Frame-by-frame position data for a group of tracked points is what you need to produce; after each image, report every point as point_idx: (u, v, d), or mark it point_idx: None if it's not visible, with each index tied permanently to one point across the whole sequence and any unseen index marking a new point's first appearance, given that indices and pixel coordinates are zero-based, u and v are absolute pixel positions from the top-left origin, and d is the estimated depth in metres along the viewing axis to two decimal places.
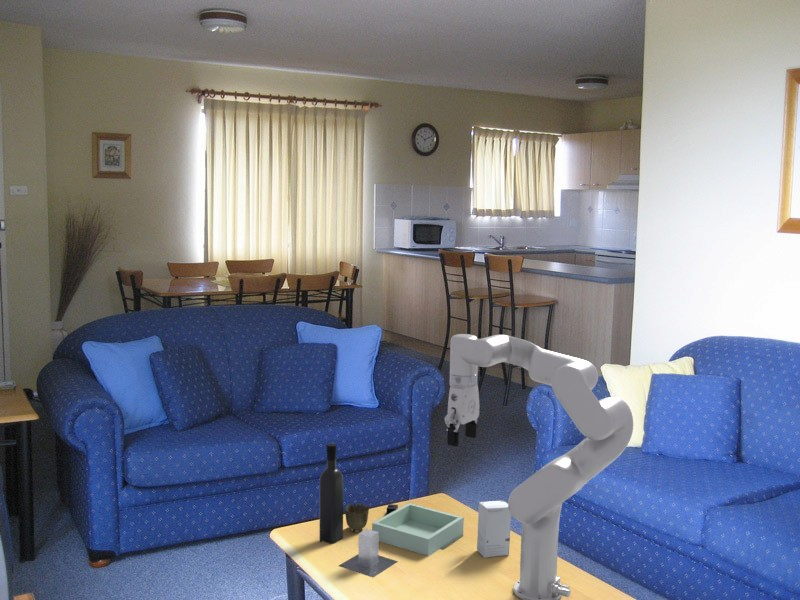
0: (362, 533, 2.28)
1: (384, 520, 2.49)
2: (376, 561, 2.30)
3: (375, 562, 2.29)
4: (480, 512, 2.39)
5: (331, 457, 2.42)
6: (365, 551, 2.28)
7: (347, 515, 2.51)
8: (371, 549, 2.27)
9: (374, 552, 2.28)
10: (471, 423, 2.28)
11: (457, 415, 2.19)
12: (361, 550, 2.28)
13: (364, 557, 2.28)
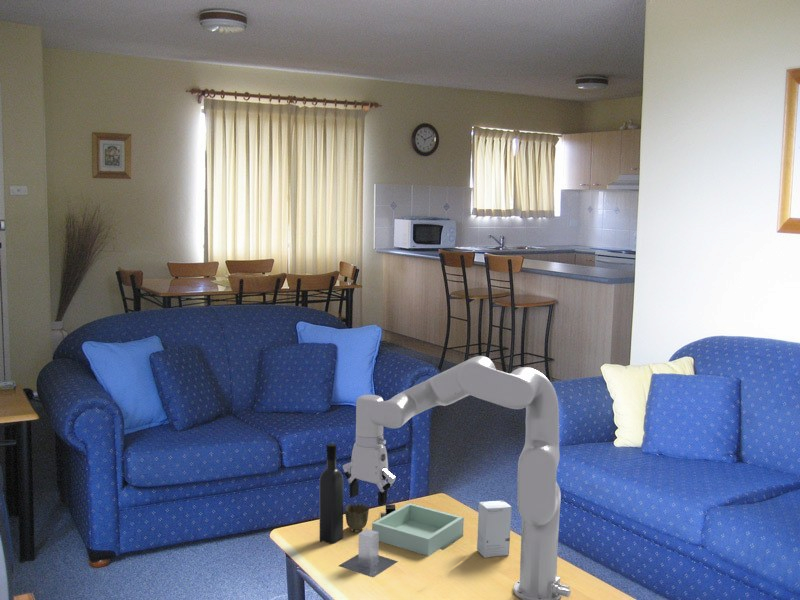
0: (362, 533, 2.28)
1: (384, 520, 2.49)
2: (376, 561, 2.30)
3: (375, 562, 2.29)
4: (480, 512, 2.39)
5: (331, 457, 2.42)
6: (365, 551, 2.28)
7: (347, 515, 2.51)
8: (371, 549, 2.27)
9: (374, 552, 2.28)
10: (355, 482, 2.30)
11: None
12: (361, 550, 2.28)
13: (364, 557, 2.28)
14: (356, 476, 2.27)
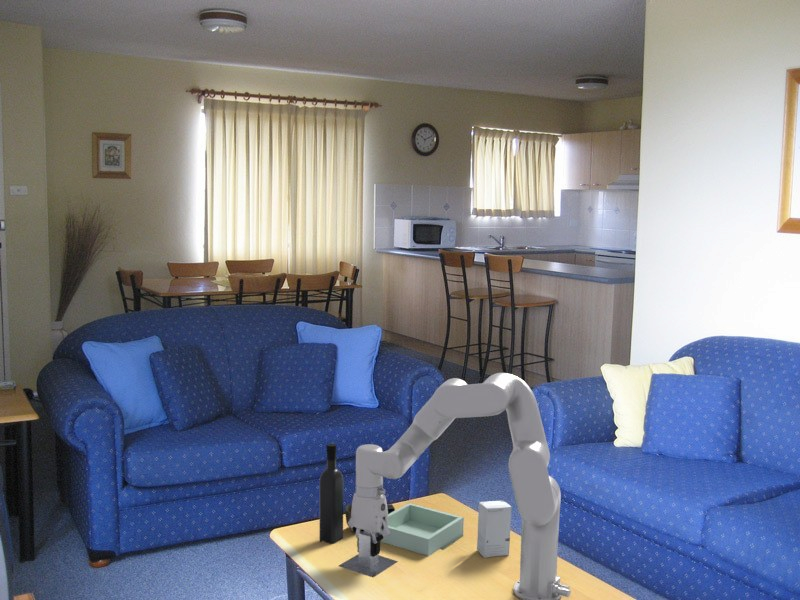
0: (362, 533, 2.28)
1: None
2: (376, 561, 2.30)
3: (375, 562, 2.29)
4: (480, 512, 2.39)
5: (331, 457, 2.42)
6: (365, 551, 2.28)
7: (347, 515, 2.51)
8: None
9: None
10: None
11: (386, 522, 2.27)
12: (361, 550, 2.28)
13: (364, 557, 2.28)
14: (356, 525, 2.28)
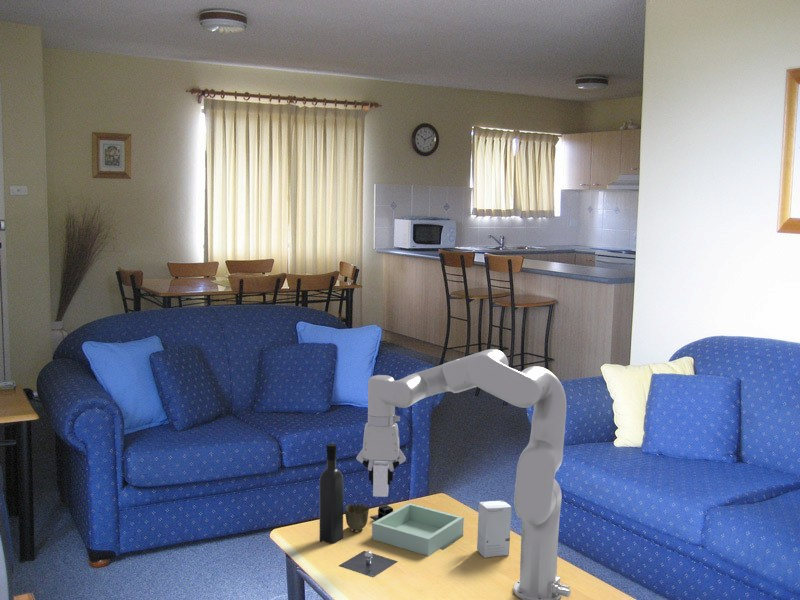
0: (376, 464, 2.29)
1: (384, 520, 2.49)
2: None
3: None
4: (480, 512, 2.39)
5: (331, 457, 2.42)
6: (381, 481, 2.29)
7: (347, 515, 2.51)
8: (387, 477, 2.29)
9: None
10: None
11: (399, 448, 2.31)
12: (376, 481, 2.29)
13: (380, 487, 2.29)
14: (370, 457, 2.28)
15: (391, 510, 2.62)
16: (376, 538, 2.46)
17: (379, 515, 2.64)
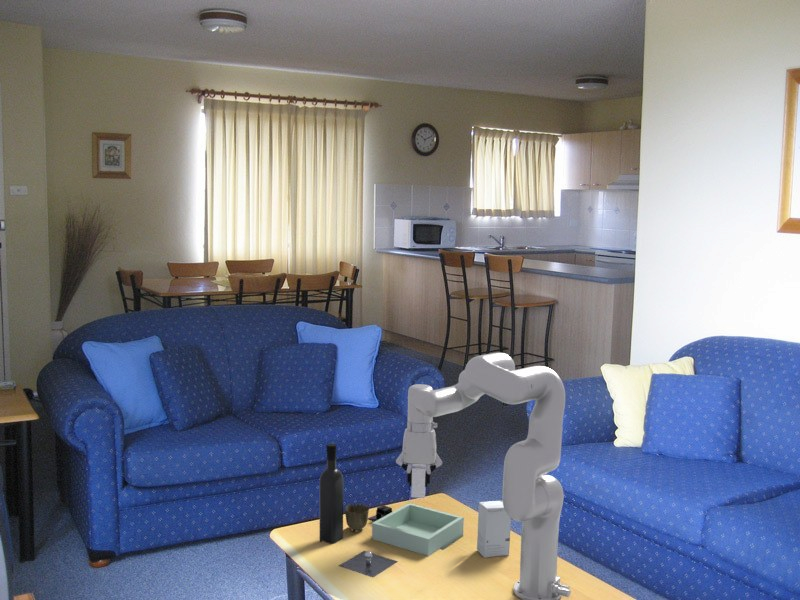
0: (414, 467, 2.45)
1: (384, 520, 2.49)
2: None
3: None
4: (480, 512, 2.39)
5: (331, 457, 2.42)
6: (419, 483, 2.45)
7: (347, 515, 2.51)
8: None
9: None
10: None
11: (436, 453, 2.47)
12: (415, 483, 2.45)
13: (418, 489, 2.45)
14: (409, 461, 2.44)
15: (390, 510, 2.62)
16: (376, 538, 2.46)
17: (377, 516, 2.63)
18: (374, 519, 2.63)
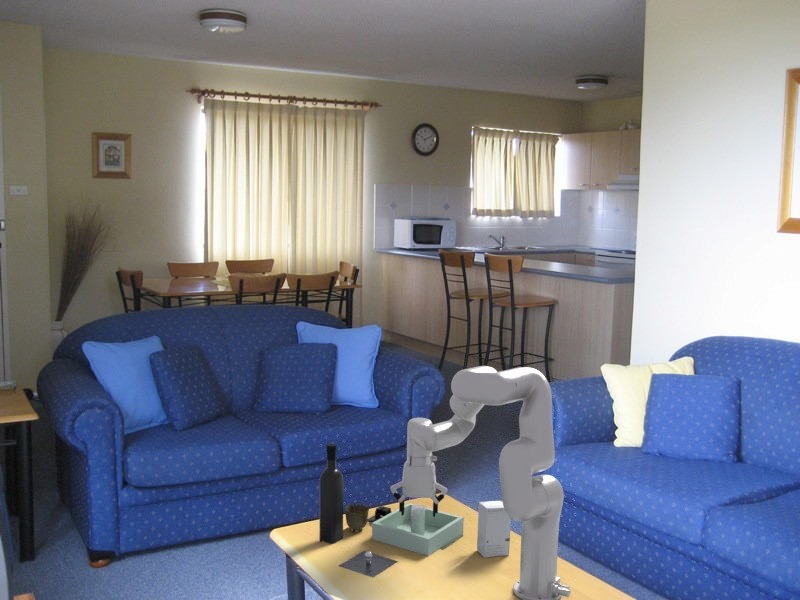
0: (414, 508, 2.47)
1: (384, 520, 2.49)
2: (424, 532, 2.50)
3: (424, 533, 2.49)
4: (480, 512, 2.39)
5: (331, 457, 2.42)
6: (418, 524, 2.47)
7: (347, 515, 2.51)
8: (424, 521, 2.47)
9: (424, 524, 2.49)
10: (403, 500, 2.48)
11: None
12: (414, 524, 2.47)
13: (417, 530, 2.47)
14: (409, 494, 2.46)
15: (389, 510, 2.62)
16: (376, 538, 2.46)
17: (376, 517, 2.62)
18: (373, 520, 2.62)
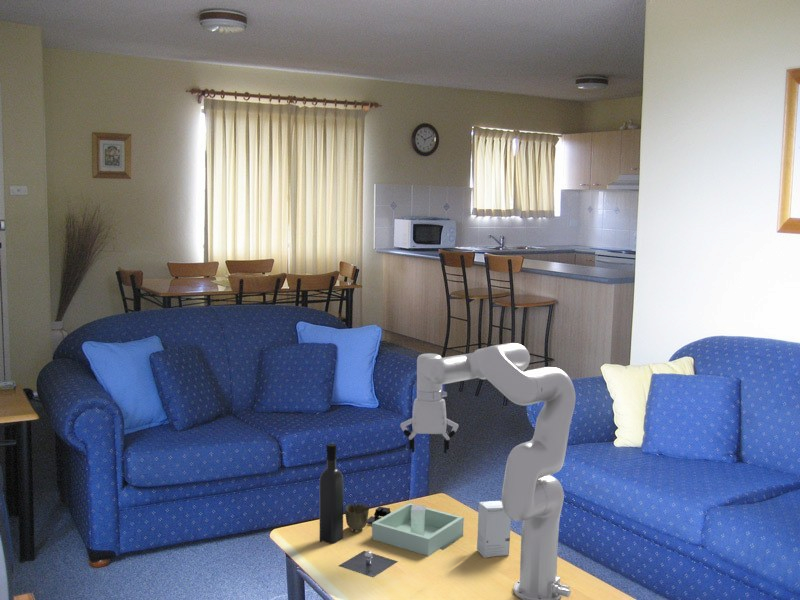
0: (414, 508, 2.47)
1: (384, 520, 2.49)
2: (424, 532, 2.50)
3: (424, 533, 2.49)
4: (480, 512, 2.39)
5: (331, 457, 2.42)
6: (418, 524, 2.47)
7: (347, 515, 2.51)
8: (424, 521, 2.47)
9: (424, 524, 2.49)
10: (414, 438, 2.46)
11: None
12: (414, 524, 2.47)
13: (417, 530, 2.47)
14: (420, 431, 2.43)
15: (389, 510, 2.62)
16: (376, 538, 2.46)
17: (375, 518, 2.62)
18: None
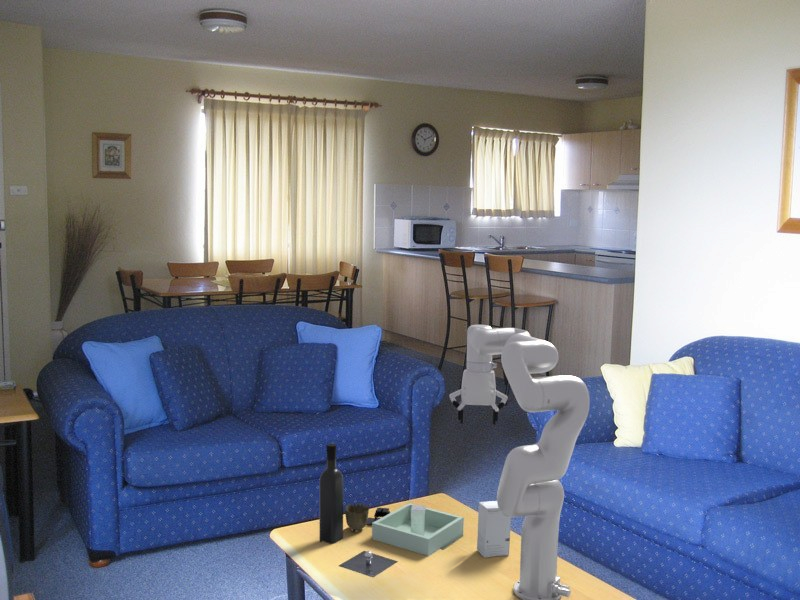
0: (414, 508, 2.47)
1: (384, 520, 2.49)
2: (424, 532, 2.50)
3: (424, 533, 2.49)
4: (480, 512, 2.39)
5: (331, 457, 2.42)
6: (418, 524, 2.47)
7: (347, 515, 2.51)
8: (424, 521, 2.47)
9: (424, 524, 2.49)
10: (462, 409, 2.45)
11: None
12: (414, 524, 2.47)
13: (417, 530, 2.47)
14: (469, 401, 2.42)
15: (388, 510, 2.62)
16: (376, 538, 2.46)
17: (375, 519, 2.61)
18: None
